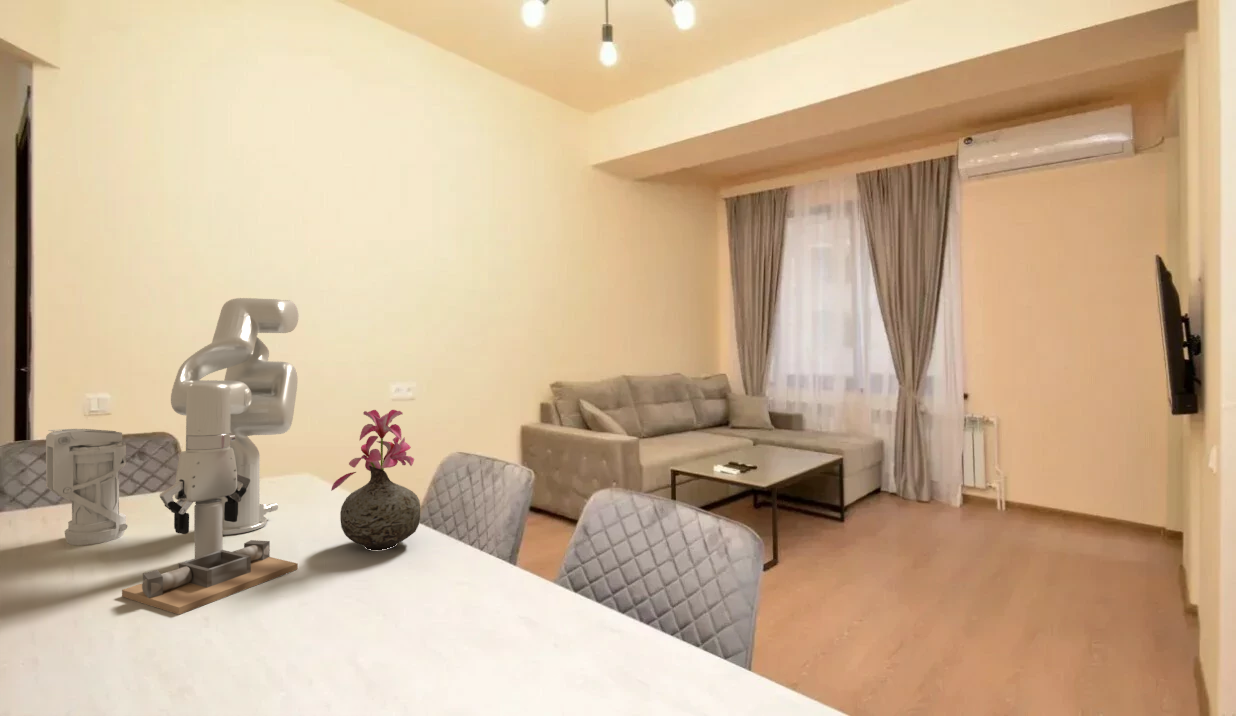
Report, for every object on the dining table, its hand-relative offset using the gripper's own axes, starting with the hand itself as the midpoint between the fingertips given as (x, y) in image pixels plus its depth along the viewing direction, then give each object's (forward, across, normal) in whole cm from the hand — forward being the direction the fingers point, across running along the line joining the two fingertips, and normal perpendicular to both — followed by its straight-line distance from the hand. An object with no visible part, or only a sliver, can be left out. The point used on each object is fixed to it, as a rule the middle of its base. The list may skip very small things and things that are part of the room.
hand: (207, 526), depth 123 cm
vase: (+7, -22, +24) cm, 33 cm away
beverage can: (+7, -1, -1) cm, 7 cm away
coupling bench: (+7, +6, +12) cm, 16 cm away
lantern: (+6, +3, -36) cm, 36 cm away
